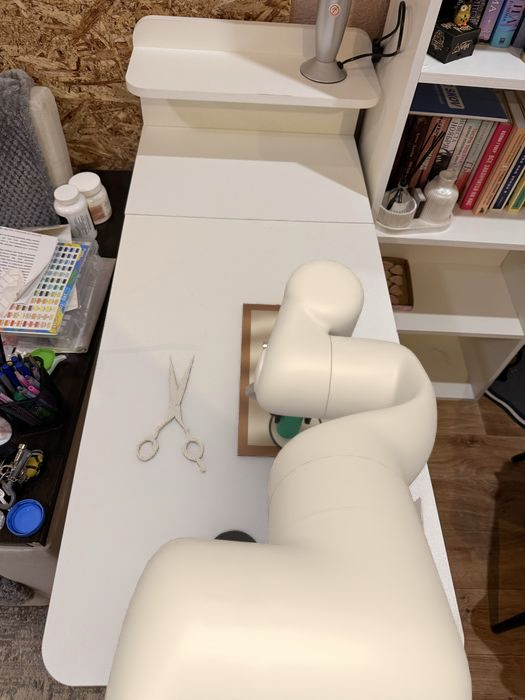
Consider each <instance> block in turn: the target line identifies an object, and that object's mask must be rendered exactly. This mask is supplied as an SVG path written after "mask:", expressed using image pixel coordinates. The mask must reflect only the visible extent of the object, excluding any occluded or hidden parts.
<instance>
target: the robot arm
mask: <svg viewBox="0 0 525 700" xmlns="http://www.w3.org/2000/svg"><path fill="white" fill-rule="evenodd" d="M364 303H365V292H364V288H363V285H362V282H361V280H360V278H359V277H358V276H357V274H356V273H355V272H354V271H353V270H352V269H350V268H349V267H348V266H346V265H345V264H343V263H340V262H338V261H335V260H330V259H315V260H311V261H308V262H305V263H303V264H302V265H300V266H298V267H297V268H296V269H295V270H293V272H292V273H291V274H290V276H289V277H288V279H287V281H286V283H285V288H284V292H283V298H282V300H281V304H280V305H281V307H280V310H279V313H278V316H277V319H276V322H275V324H274V327H273V330H272V333H271V336H270V338H269V341H263V351H262V352H261V354H260V356H259V359H258V363H257V366H256V370H255V376H254V382H252V383H251V384H249V385H248V386H246V394H245V396H246V397H249V398H252V399H256V400H257V402H258V404H259V405H260V407H261V408H262V409H263V410H265V411H267V412H269V413H270V415H275V423H280V419H281V415H283V416H294V417H304V423H306V424H310V422H311V419H312V418H316V419H328V420H331V421H327V422H324V423H321V424H319V425H316V426H314V427H311V428H309V429H307V430H305V431H303V432H301V433H299V434H298V435H296V436H295V437H294V438H292V439H291V440H290V441H289V442H288V443H287V444H286V445H285V446H284V447H283V448H282V449H281V450H280V452H279V453H278V455H277V456H276V457H274V460H273V463H272V465H271V467H270V471H269V477H268V498H267V499H268V501H267V502H268V503H267V507H268V508H267V510H268V511H267V518H268V523H267V524H268V526H267V529H268V531H267V543H260V542H257V543H251V542H238V541H227V540H217V539H214V538H205V537H194V536H186V537H185V536H184V537H177V538H174V539H170V540H168V541H167V542H165V543H164V544H162V545H161V546H159V548H158V549H157V550H156V551H155V552H154V553H153V554H152V556H151V557H150V559H148V561H147V562H146V564H145V566H144V568H143V570H142V572H141V574H140V576H139V578H138V580H137V583H136V585H135V588H134V590H133V593H132V594H131V597H130V599H129V603H128V606H127V609H126V612H125V614H124V619H123V621H122V624H121V628H120V632H119V635H118V639H117V642H116V647H115V652H114V656H113V659H112V664H111V667H110V673H109V677H108V680H107V685H106V689H105V694H104V699H103V700H473V688H472V687H473V686H472V677H471V673H470V665H469V661H468V656H467V653H466V649H465V647H464V643H463V640H462V638H461V635H460V632H459V629H458V626H457V623H456V620H455V617H454V614H453V612H452V608H451V604H450V603H449V599H448V597H447V593H446V591H445V587H444V585H443V581H442V579H441V576H440V573H439V570H438V568H437V563H436V562H435V558H434V555H433V553H432V551H431V548H430V545H429V541H428V539H427V536H426V533H424V531H425V529H424V530H423V527H422V524H421V521H420V518H419V516H418V513H417V510H416V507H415V504H414V502H415V500H414V499H413V496H412V493H411V490H410V487H411V485H412V484H413V483H414V482H415V480H416V479H417V478H418V477H419V475H420V474H422V473H421V472H422V471H423V470H424V468H425V466H426V465H427V463H428V461H429V459H430V457H431V454H432V452H433V449H434V446H435V442H436V435H437V430H438V429H437V428H438V406H437V397H436V392H435V389H434V385H433V382H432V381H431V379H430V377H429V375H428V374H427V372H426V370H425V368H424V366H423V365H422V363H421V361H420V360H419V358H418V357H417V356H416V354H415V353H414V352H413V351H412V350H411V349H409V348H408V347H406V346H404V345H403V344H401V343H398V342H394V341H390V340H383V339H375V338H374V339H373V338H366V337H353V334H354V331H355V328H356V326H357V325H358V324H357V323H358V321H359V319H360V316H361V314H362V310H363V308H364Z"/></svg>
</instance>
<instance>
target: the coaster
mask: <svg viewBox="0 0 525 700" xmlns="http://www.w3.org/2000/svg"><path fill="white" fill-rule="evenodd" d="M213 539H217V540H227V541H238V542H251V543H258V542H257V541H256V540H255V539H254V537H253V536H252V535H250V534H248V533H247V532H245V531H241V530H227V531H224V532H222V533H220V534H218V535H216V536H215V537H214V538H213Z"/></svg>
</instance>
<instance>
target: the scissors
mask: <svg viewBox="0 0 525 700" xmlns="http://www.w3.org/2000/svg"><path fill="white" fill-rule="evenodd" d="M194 357H195V356H194V355H193V356H192V358H191V360H190V362H189V364H188V366H187V367H186V368H187V369H186V371H185V372H184V374H183V377H182V379H181V381H180V384H179V385H178V386H177V381H176V377H175V371H174V367H173V364H172V363H173V361H172V357H171V356H169V393H170V394H169V396H170V404H169V406H168V410H167V412H166V415H165V416H164V419H163V421H162V423H160V424H158V425H156V426H155V431H154V433H152V434H150V435H148V436H146V437H144V438H142V439H141V440H140V441H138V443H137V445H136V447H135V455H136V456H137V458H138V459H139V461H142V462H148V461H150V460H152V459H153V458H154V457H155V456H156V454H157V453H158V451H159V444H158V443H157V438H158V435H159V432H160V431H161V430H163V428H164V427H165V426H166V425H167V424H169V423H170V422H172V420H174V419H175V420H176V421H177V423H178V424H179V425H180V427H181V428H182V429H183V430H184V432H185V441H184V442H183V444H181V451H182V454H183V456H184V457H185V458H186V460H188V461H190V462H196V463H197V465H198V466H199V469H200V472H201V473H205V472H206V467H205V466H204V465H203V463H202V460H201V459H202V457H203V455H204V445H203V443H202V442H201V440H200V439H198V438H196V437H194V436H192V435H191V434H190V433H189V427H188V426H187V425H185V423H184V422H183V421H182V411H181V402H182V399H183V396H184V393H185V389H186V387H187V384H188V380H189V375H190V372H191V369H192V366H193V361H194ZM147 442H151V443H152V444H153V447H152V449H151V452H150V453H149V454H148V455H147V456H143V455H141V454H140V450H141V446H142V445H144V444H145V443H147ZM190 443H195V444H197V445H198V447H199V452H198V454H197V455H195V456H191V455H189V454H188V452H187V447H188V445H189V444H190Z"/></svg>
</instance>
